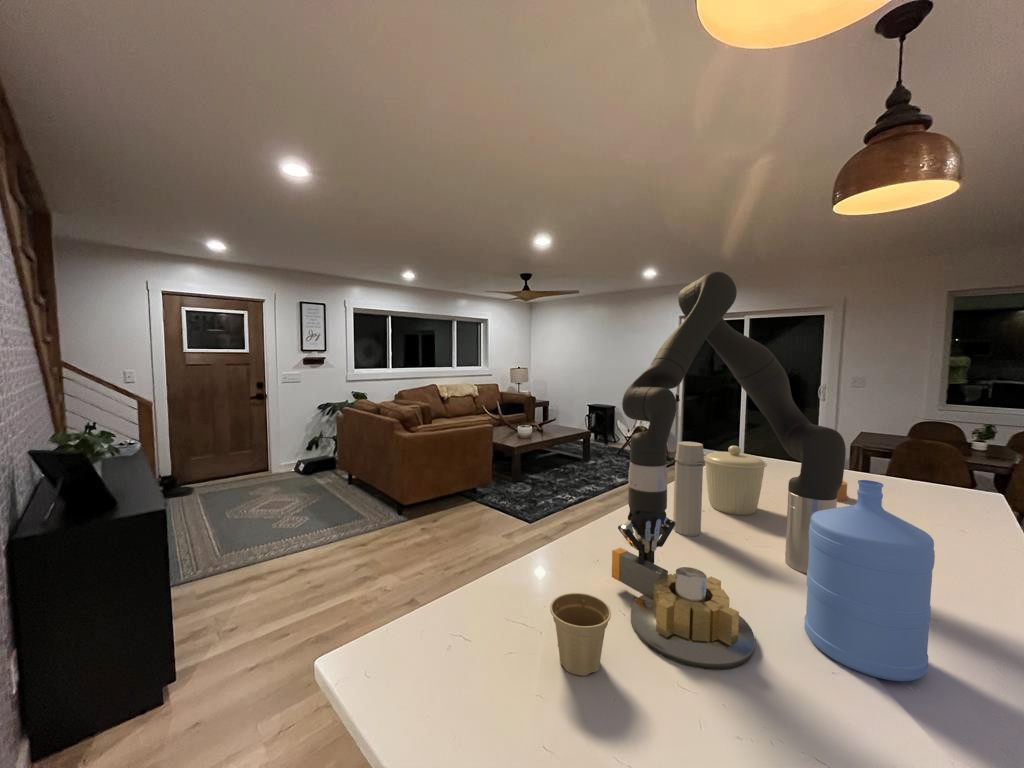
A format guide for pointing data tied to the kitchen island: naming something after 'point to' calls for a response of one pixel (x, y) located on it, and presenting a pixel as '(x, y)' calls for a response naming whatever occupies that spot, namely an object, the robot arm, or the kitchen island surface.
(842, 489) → the bracket
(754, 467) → the canister
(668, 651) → the housing
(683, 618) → the segmented ring on plate
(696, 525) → the water bottle
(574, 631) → the flower pot
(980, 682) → the kitchen island surface
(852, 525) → the water jug
